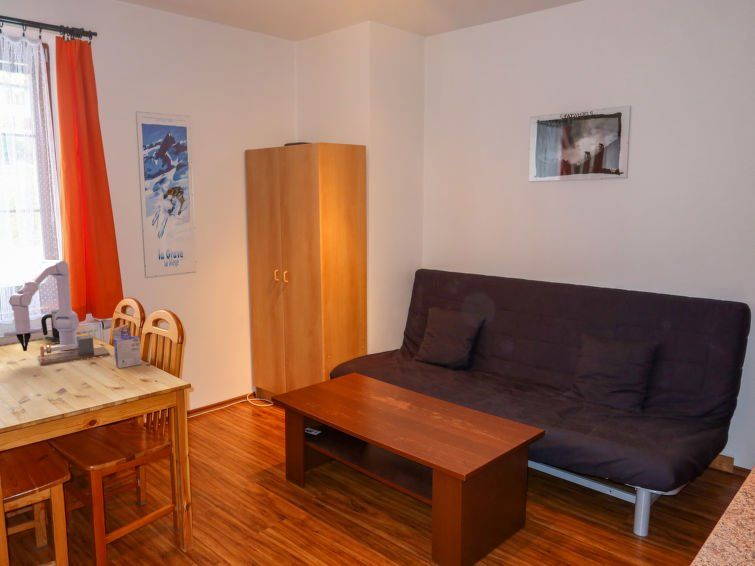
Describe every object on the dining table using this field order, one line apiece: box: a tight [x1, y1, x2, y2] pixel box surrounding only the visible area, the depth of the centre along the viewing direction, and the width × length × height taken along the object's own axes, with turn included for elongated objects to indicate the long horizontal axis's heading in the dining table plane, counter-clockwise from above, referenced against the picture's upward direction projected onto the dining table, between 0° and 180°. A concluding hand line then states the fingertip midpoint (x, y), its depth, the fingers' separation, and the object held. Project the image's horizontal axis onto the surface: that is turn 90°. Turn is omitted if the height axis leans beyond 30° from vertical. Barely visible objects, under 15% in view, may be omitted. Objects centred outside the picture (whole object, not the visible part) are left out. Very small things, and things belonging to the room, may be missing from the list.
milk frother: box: [40, 309, 60, 344], centre depth 306 cm, size 14×16×15 cm
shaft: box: [38, 343, 79, 357], centre depth 272 cm, size 19×5×5 cm, turn 123°
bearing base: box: [37, 334, 111, 366], centre depth 275 cm, size 28×14×9 cm, turn 123°
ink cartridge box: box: [112, 332, 142, 369], centre depth 260 cm, size 10×6×14 cm, turn 129°
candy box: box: [111, 324, 131, 363], centre depth 268 cm, size 9×4×15 cm, turn 177°
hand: (25, 350), depth 264 cm, fingers closed
